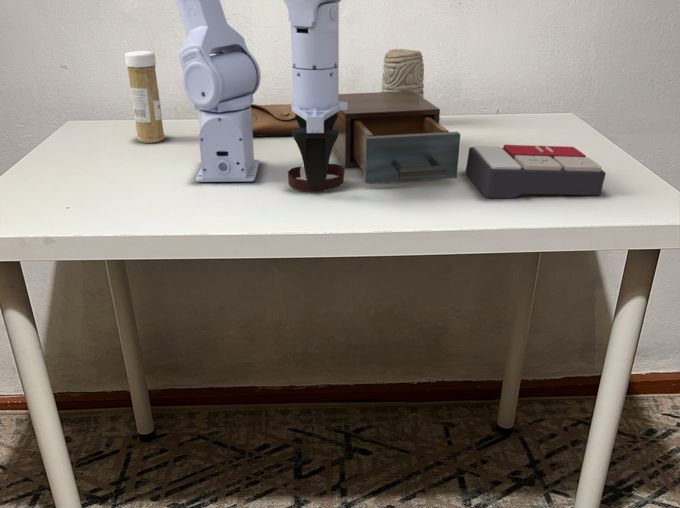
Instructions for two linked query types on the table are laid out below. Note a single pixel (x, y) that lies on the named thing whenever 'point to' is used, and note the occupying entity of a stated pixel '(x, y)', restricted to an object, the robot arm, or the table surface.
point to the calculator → (533, 171)
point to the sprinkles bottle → (145, 96)
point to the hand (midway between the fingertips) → (316, 176)
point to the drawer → (404, 149)
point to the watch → (303, 186)
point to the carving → (403, 71)
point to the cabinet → (376, 115)
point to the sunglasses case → (273, 120)
